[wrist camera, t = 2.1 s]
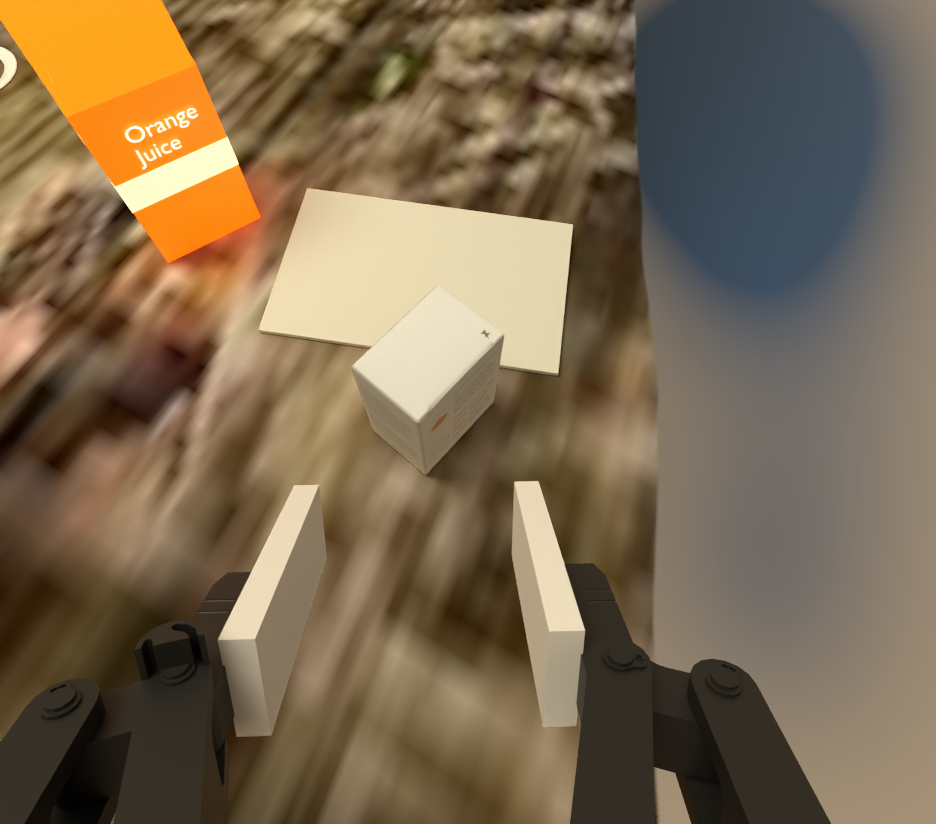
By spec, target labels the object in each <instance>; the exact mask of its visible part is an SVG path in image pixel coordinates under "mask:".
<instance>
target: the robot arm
mask: <svg viewBox="0 0 936 824" xmlns="http://www.w3.org/2000/svg"><path fill="white" fill-rule="evenodd" d="M326 559H327V556H326V547H325V537H324V527H323V518H322V508H321V498H320V489H319V485H294V487H293V489H292V491H291V493H290V495H289V497H288V499H287V501H286V503H285V505H284V507H283V509H282V511H281V513H280V515H279V517H278V519H277V521H276V523H275V525H274V527H273V529H272V531H271V533H270V536H269V538H268V540H267V542H266V544H265V546H264V548H263V550H262V552H261V554H260V556H259V558H258V560H257V562H256V564H255V566H254V568H253V570H252V572H232V573H227V574H226V575H225V576H223V577H222V578H221V579H220V580H219V581H217V582H216V583H215V584H214V585H213V586H212V588H211V589H210V591H209V593H208V595H207V596H206V598H205V602H203V603H202V605H201V607H200V609H199V610H198V614H196V615H195V617H194V619H193V621H189V620H178V621H171V622H168V623H165V624H162V625H159V626H158V627H156V628H154V629H152V630H151V631H149V632H147V633H146V634H145V635H144V636H143V637H142V638H141V639H140V640H139V641H138V643H137V645H136V647H135V649H134V653H135V656H136V660H137V664H138V668H139V671H140V675H141V679H142V681H139V682H136V683H133V684H131V685H127V686H123V687H120V688H116V689H112V690H108V691H105V692H101V693H100V691H99V687H98V684H97V683H96V682H94V681H92V680H91V679H84V678H76V679H71V680H66V681H63V682H61V683H58V684H56V685H54V686H51V687H49V688H48V689H46V690H45V691H43V692H42V693H40V694H39V695H37V696H36V697H35V698H34V699H33V700H32V701H31V702H30V703H29V704H28V705H27V706H26V708H25V709H24V710H23V712H22V713H21V715H20V716H19V717H18V719H17V720H16V722H15V723H14V724H13V726H12V727H11V729H10V730H9V731H8V733H7V734H6V736H5V737H4V738H3V740H2V741H1V743H0V824H110V823H111V821H112V819H113V816H114V814H115V812H116V814H115V819H114V824H227V805H228V762H229V751H228V746H227V742H226V736H227V733H228V731H229V728H230V726H231V723H232V721H233V720H234V725H235V730H236V735H237V737H243V736H271V735H272V732H273V728H274V725H275V722H276V719H277V716H278V712H279V709H280V706H281V703H282V700H283V697H284V693H285V690H286V687H287V684H288V681H289V677H290V674H291V671H292V668H293V665H294V661H295V658H296V655H297V652H298V649H299V646H300V642H301V639H302V636H303V633H304V630H305V626H306V623H307V620H308V617H309V614H310V610H311V607H312V604H313V601H314V598H315V595H316V591H317V588H318V585H319V582H320V579H321V575H322V572H323V569H324V566H325V563H326ZM512 559H513V564H514V570H515V575H516V581H517V586H518V592H519V598H520V603H521V609H522V614H523V620H524V625H525V631H526V636H527V642H528V647H529V653H530V658H531V664H532V670H533V675H534V681H535V686H536V692H537V697H538V703H539V708H540V714H541V719H542V725H543V727H561V726H576V722H577V711H578V713H579V716H580V720H581V732H580V741H579V750H578V759H577V768H576V776H575V785H574V794H573V803H572V812H571V820H570V824H655V814H654V767H656V768H660V769H664V770H667V771H671V772H674V773H676V776H677V780H678V783H679V786H680V789H681V792H682V795H683V798H684V801H685V804H686V808H687V811H688V814H689V817H690V821H691V824H831V823H830V821H829V819H828V817H827V816H826V814H825V812H824V810H823V808H822V806H821V804H820V803H819V800H818V799H817V797H816V795H815V793H814V791H813V789H812V787H811V785H810V784H809V782H808V780H807V778H806V776H805V774H804V772H803V771H802V769H801V767H800V765H799V763H798V761H797V759H796V757H795V756H794V754H793V752H792V750H791V748H790V746H789V745H788V743H787V741H786V739H785V737H784V735H783V733H782V731H781V730H780V728H779V726H778V724H777V722H776V720H775V718H774V717H773V714H772V713H771V711H770V709H769V707H768V705H767V703H766V701H765V700H764V698H763V696H762V694H761V692H760V690H759V688H758V686H757V685H756V683H755V682H754V681H753V679H752V678H751V677H750V675H749V674H748V673H746V672H745V671H743V670H742V669H741V668H739V667H738V666H736V665H733V664H731V663H729V662H726V661H722V660H716V659H708V660H701V661H700V662H698V663H697V664H695V665H694V666H693V668H692V670H691V672H690V673H687V672H683V671H679V670H674V669H669V668H666V667H663V666H660V665H658V664H656V663H654V662H652V661H650V658H649V656H648V655H647V654H646V653H645V652H644V650H643V649H642V648H640V647H639V646H637V645H636V644H634V643H633V642H632V639H631V637H630V634H629V632H628V629H627V627H626V625H625V622H624V620H623V617H622V615H621V612H620V610H619V607H618V605H617V603H616V602H615V598H614V595H613V593H612V591H611V588H610V585H609V583H608V581H607V578H606V576H605V574H604V573H602V572H601V571H600V570H599V569H598V568H597V567H596V566H595V565H594V564H593V563H589V564H564V562H563V558H562V555H561V552H560V549H559V546H558V542H557V539H556V536H555V533H554V530H553V526H552V523H551V520H550V517H549V514H548V511H547V507H546V504H545V501H544V498H543V495H542V491H541V488H540V485H539V482H538V481H525V482H514V505H513V534H512Z"/></svg>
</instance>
